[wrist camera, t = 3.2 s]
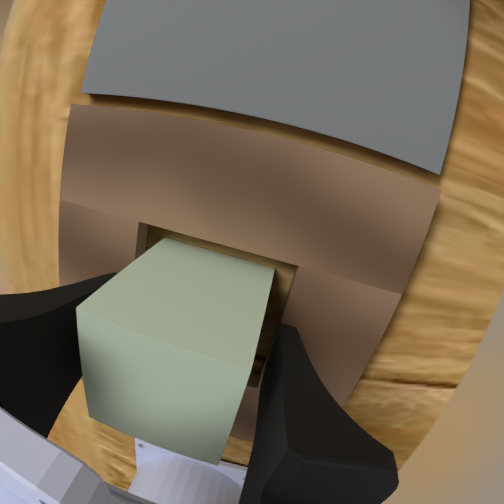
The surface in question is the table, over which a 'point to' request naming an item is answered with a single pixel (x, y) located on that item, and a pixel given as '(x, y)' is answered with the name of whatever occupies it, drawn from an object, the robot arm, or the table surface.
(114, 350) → the sage block
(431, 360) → the table surface
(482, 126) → the table surface
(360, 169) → the pocket board
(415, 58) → the mat
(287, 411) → the robot arm
